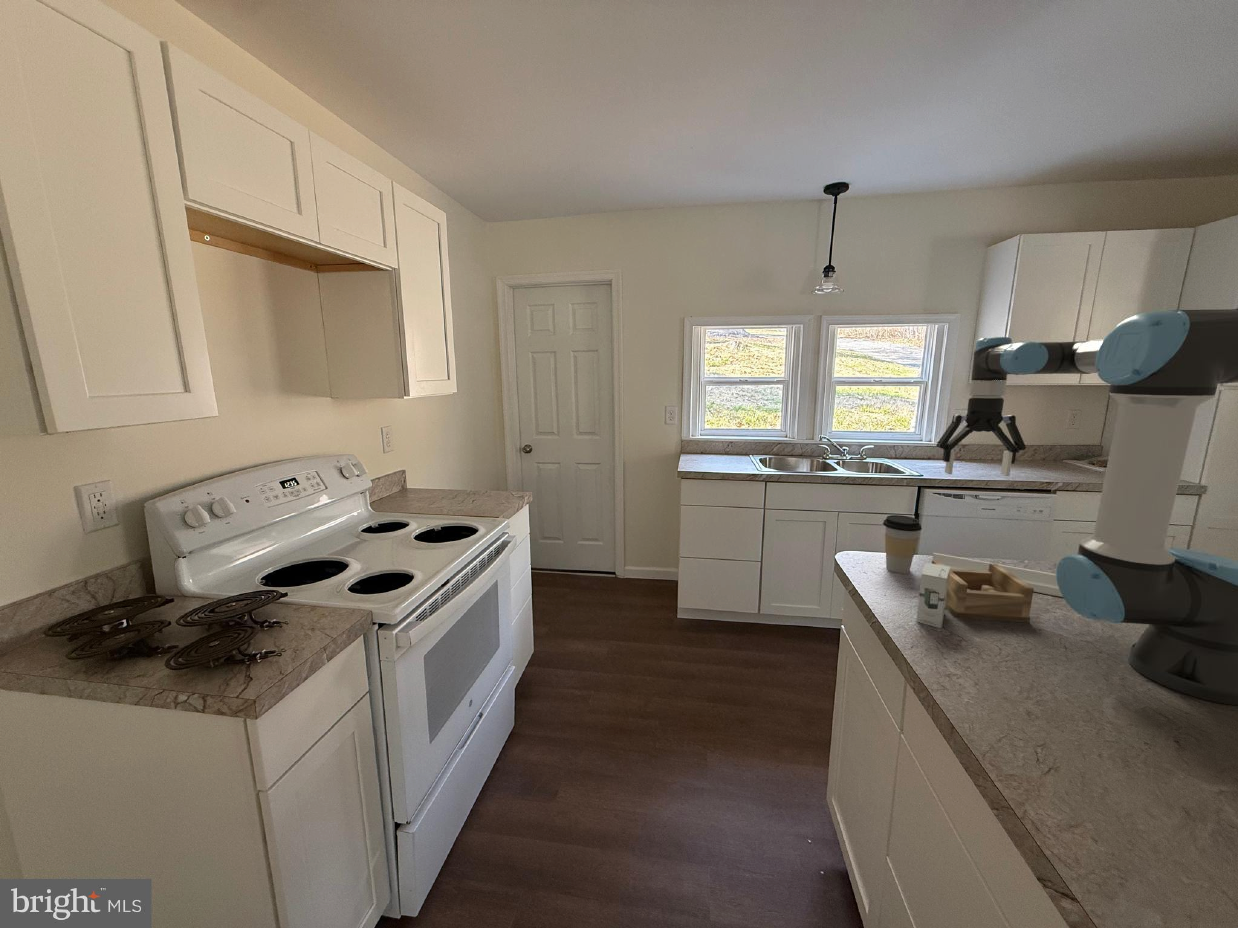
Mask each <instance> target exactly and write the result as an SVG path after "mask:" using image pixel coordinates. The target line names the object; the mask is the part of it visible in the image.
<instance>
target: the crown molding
mask: <svg viewBox="0 0 1238 928" xmlns="http://www.w3.org/2000/svg"><path fill="white" fill-rule="evenodd" d="M932 560H937V561H940V562H941V563H942V564H943V565H945V566H949V567H950V569H964V570H982V571H988V570H989V563H990V562H989V561H983V560H978V559H971V558H966V557H960V556H956V555H955V556H954V555H950V554H943V553H937V552H933V555H932ZM991 563H992V564H997V565H999V566H1000V567H1002V568H1003V569H1005V570H1007V571H1008V572H1010V573H1011V574H1013V575H1014V576H1016V577H1017V578H1019V579H1020V580H1022V581H1023V582H1025V583H1026V584H1028V585H1029V586H1031V587H1032V588H1034V591H1033V593H1034V592H1035V593H1039V594H1043V595H1044V594H1045V595H1049V596H1055V597H1059V598H1064V597H1063V595H1062V593H1061V592H1060V590H1059V587H1058V583H1057V578H1056V573H1051V572H1045V571H1040V570H1033V569H1029V568H1028V569H1027V568H1022V567H1016V566H1011V565H1006V564H1000V563H995V562H991Z"/></svg>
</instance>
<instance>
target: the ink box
mask: <svg viewBox="0 0 1238 928" xmlns="http://www.w3.org/2000/svg"><path fill="white" fill-rule="evenodd" d="M922 569H923V570H922V571H921V575H920V576H921V577H920V584H919V593H918V594H919V595H918V602H917V610H916V611H917V612H916V617H915V621H916V622H917V623H921V624H924V625H928V626H932V627H935V628H939V629H941V628H942V627H943V621H944V616H945V610H946V608H945V606H946V599H947V590H948V581H949V573H950V567H949V566H943V565H937V564H932V562H926V563H925V565H924V567H923V568H922Z"/></svg>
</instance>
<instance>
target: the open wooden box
mask: <svg viewBox="0 0 1238 928" xmlns="http://www.w3.org/2000/svg"><path fill="white" fill-rule="evenodd" d="M931 563H932V564H937V565H943V564H942V563H941V562H940V561H937V560H933V559H932V560H931ZM992 563H993V562H989V570H988V571H982V570H964V569H950V573H949V581H948V590H947V599H946V606H945V610H947V611H948V612H949V613H950V614H951V615H952V616H953V617H954V618H961V619H973V620H974V619H975V620H988V621H1000V622H1001V621H1002V622H1003V621H1004V622H1015V623H1027V624H1028V623H1030V622H1031V621H1030V620H1031V617H1030V614H1031V609H1032V602H1033V595H1034V592H1033V591H1034V588H1032V587H1031V586H1029V585H1028V584H1026V583H1025V582H1023V581H1022V580H1020V579H1019V578H1017V577H1016V576H1014V575H1013V574H1011V573H1010V572H1008V571H1007V570H1005V569H1003V568H1002V567H1000V566H999V565H997V564H998V563H995V564H992ZM943 566H945V565H943Z"/></svg>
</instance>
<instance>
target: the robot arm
mask: <svg viewBox="0 0 1238 928" xmlns="http://www.w3.org/2000/svg"><path fill="white" fill-rule="evenodd" d="M1012 341H1013V340H1012V338H1011V337H1009V336H995V337H983V338H982V337H981V338H979V339H978V340H976V342H975V348H974V352H973V361H972V368H971V369H972V370H971V380H970V385H969V386H970V387H969V396H970V397H969V398H968V402H967V409H966V410H967V413H966V414H965V415H961V414H953V416H952V420H951V423H950V424H949V425H948V427H947V428H946V430H945V431H944V433H943V434H942V436H941V437H940V438H939V440H938V442H937V443H936V447H937V448H940V449H941V450H943V453H942V462H945V467H944V473H945V474H946V475H947V474H948V475H953V468H954V461H955V455H956V454H955V453H956V451H955V450H953V449H954V448H956V447H957V445H959V444H960V443H961V442H962V441H963V440H965V438H966V437H967V436H969V435H970V434H972V433H973V432H976V433H981V432H986V433H991V432H992V434H994V435H995V437H996V438H997V440H999V441H1000V442H1001V444H1002V445H1003V446H1004V448H1005V449H1007V450H1004V451H1003V453H1002V454H1003V455H1002V461H1001V462H1002V464H1001V470H1000V475H1002V476H1004V477H1010V476H1011V475H1010V474H1011V468H1012V464H1013V465H1014V464H1015V463H1016V458H1017V453H1019V452H1020V451H1025V450H1026V449H1027V446H1026V443H1025V441H1024V439H1023V437H1022V435H1021V432H1020V430H1019V428H1018V425H1017V418H1016V415H1013V414H1006V415H1002V413H1003V410H1004V401H1005V399H1004V398H1003V397H1004V396H1005V395H1006V387H1007V380H1008V375H1015V376H1020V375H1021V376H1023V375H1024V376H1025V375H1052V374H1053V375H1054V374H1055V375H1057V374H1058V375H1061V374H1062V375H1064V374H1067V375H1069V374H1071V375H1074V374H1075V375H1090V374H1097V376H1098V378H1099V379H1100V380H1102V381H1103V382H1104V383H1106V384H1108V385H1110V386H1109V387H1110V388H1109V393H1108V395H1109V396H1110V397H1112V399H1114V400H1115V401H1116V402H1117V403H1118V411H1117V415H1116V420H1115V426H1114V431H1113V436H1112V441H1111V443H1110V445H1111V446H1110V450H1109V454H1108V455H1109V456H1108V460H1107V463H1106V464H1107V465H1106V469H1105V470H1106V471H1105V475H1104V478H1103V479H1104V480H1103V485H1102V488H1101V495H1100V499H1099V500H1100V501H1099V505H1098V508H1097V509H1098V510H1097V514H1096V520H1095V525H1094V528H1093V529H1094V530H1093V533H1092V534H1091V535H1089V536H1087V537H1085V538H1083V539H1080V541H1079V546H1078V549H1077V553H1072V554H1067V555H1065V556H1063V557H1062V558H1061V559H1060V560H1059V561H1058V563H1057V565H1056V569H1055V571H1056V572H1055V574H1056V578H1057V583H1058V587H1059V590H1060V592H1061V593H1062V595H1063V597H1062V598H1063V599H1064V601H1065V602H1066V604H1067V605H1068V606H1069V607H1070V608H1071V609H1072V610H1073V611H1074V612H1076V613H1077V614H1079V615H1080V616H1081V617H1083V618H1086V619H1089V620H1093V621H1098V622H1099V621H1102V622H1107V623H1111V624H1120V623H1123V624H1137V625H1138V624H1139V625H1148V626H1147V627H1146V629H1145V630H1144V631H1143V632H1142V634H1141V635H1140V637H1139V639H1138V640H1136V642H1134V643H1133V644H1132V645H1131V646H1130V648H1129V651H1128V656H1127V660H1128V661H1127V662H1128V664H1129V665H1130V666H1131V667H1132V668H1133V669H1134V670H1136V671H1137V672H1138V673H1140V674H1141V675H1143V676H1144V677H1146V678H1147V679H1150V680H1151V681H1152V682H1153V681H1154V682H1156V683H1158V684H1159V685H1162V686H1165V687H1166V688H1169V689H1171V690H1174V691H1177V692H1179V693H1183V694H1185V695H1189V696H1191V697H1194V698H1197V699H1201V700H1206V701H1209V702H1214V703H1219V704H1225V705H1233V706H1238V561H1237V560H1234V559H1230V558H1227V557H1224V556H1219V555H1217V554H1216V555H1215V554H1212V553H1207V552H1205V551H1204V552H1203V551H1197V550H1193V549H1186V548H1182V547H1181V548H1180V547H1169V548H1167V549H1166V547H1165V544H1166V540H1167V536H1168V532H1169V527H1170V522H1171V518H1172V514H1173V511H1174V510H1173V509H1174V506H1175V502H1176V497H1177V494H1178V489H1179V486H1180V485H1179V484H1180V481H1181V476H1182V472H1183V468H1184V464H1185V460H1186V455H1187V450H1188V446H1189V442H1190V439H1191V433H1192V428H1193V426H1194V422H1195V416H1196V412H1197V408H1198V407H1199V406H1201V405H1202V404H1204V403H1206V402H1208V401H1210V400H1212V399H1213V398H1215V396H1216V392H1217V388H1218V386H1219V384H1235V383H1238V308H1232V309H1231V308H1230V309H1229V308H1223V309H1220V308H1219V309H1217V308H1216V309H1167V310H1160V311H1159V310H1158V311H1150V312H1143V313H1137V314H1135V315H1132V316H1130V317H1128V318H1126V319H1124V320H1123V321H1121V322H1119V323H1118V324H1117V325H1116V326H1115V328H1113V329H1112V330H1110V331H1109V333H1108V334H1107V335H1106V336H1105V337H1104V338H1102V339H1101V338H1099V339H1090V340H1081V341H1080V340H1079V341H1054V342H1053V341H1051V342H1050V341H1048V342H1047V341H1046V342H1042V341H1041V342H1039V341H1038V342H1035V341H1019V342H1016V343H1013V342H1012ZM964 421H965V423H966V425H964V426H963V428H962V429H961V430H960V431H959V432H958V433H957V434H956V435H955V436H954V434H955V433H956V431H958V429H959V427H960V426H961V424H963V422H964ZM1002 422H1003V423H1004V424H1005V427H1006V428H1007V431H1008V432H1009V435H1010V437H1011V439H1010V438H1009V437H1008V436H1007V434H1006V433H1005V432H1004V431H1003V429H1002V428H1001V427H1000V424H1001V423H1002Z"/></svg>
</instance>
